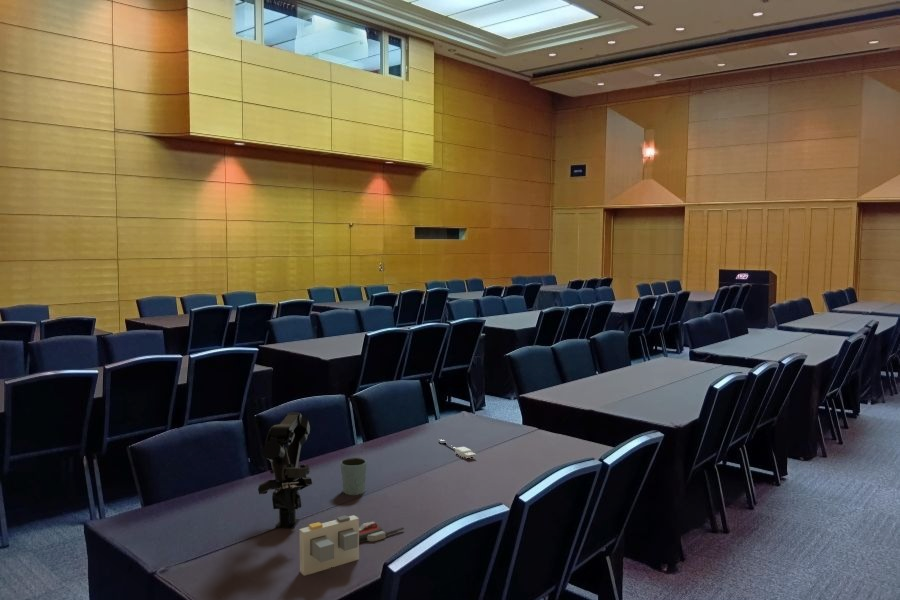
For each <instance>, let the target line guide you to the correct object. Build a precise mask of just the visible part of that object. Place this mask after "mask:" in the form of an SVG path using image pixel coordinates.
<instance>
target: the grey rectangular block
mask: <svg viewBox="0 0 900 600" xmlns="http://www.w3.org/2000/svg"><path fill="white" fill-rule="evenodd" d="M310 554H311V555H312V556H313V557H315V558H316V559H317V560H318V561H319V562H324V561H327V560H331V559H334V543H333V542H331V541H330V540H329V539H328V538H326V537H325V536H321V537H317V538H313V539H310Z"/></svg>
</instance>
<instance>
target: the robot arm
mask: <svg viewBox="0 0 900 600" xmlns="http://www.w3.org/2000/svg"><path fill="white" fill-rule="evenodd" d="M285 414H286V415H285V417H284V419H283V420H282V421H281V422H280V423H279V424H274V425H272V426H271V427H270V429H269V430H268V432H267V435H266V438H265V440H264V445H263V447H262V448H261V449H262V455H263V456H264V457H265V459H267V460H269V461H270V463H271V465H270V466H271V468H272V469H271V470H270V472H269V473H270V474H273V477H274V479H268V480H266V481H264V482H263V483H260V484H259V485H258V488H257V491H258V495H266V494H268V492H269V491H271V490H274V491H273V492H272V497H271V498H272V506H273V507H272V508H273V510H278V522H277V523H276V524H275V528H279V529H280V528H282V529H294V528H295V527H296V525H298V523H299V521H300V519H299V518H297V510H299V509H300V508H302V497H301V495H300V492H299V491H302V490H303V489H306V488H308V487H310V486H312V485H313V482H312V478H311V477H310V476H308V475H309V474H310V467H309V465H308V464H301V465H300V467H298V466H299V461H300V454H301V450H302V446H303V445H304V444H305V443H306V442H307V440H308V436H309V435H310V433H311V432H310V431H311V426H310V422H309V420H308V419H307V418H305V417H304V416H302V413H300V412H288V413H285ZM286 446H287V447H286Z"/></svg>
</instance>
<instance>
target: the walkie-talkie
mask: <svg viewBox="0 0 900 600" xmlns="http://www.w3.org/2000/svg"><path fill="white" fill-rule="evenodd" d="M403 530H405V527H403V526H402V527H399V528H395V529H392V530H389V531H388V530H387V531H383V527H381V526H380V525H379V524H377V523H376V522H375V521H372V520H371V521H368V522H365V523H362V524H361V525H359V544H361V543H363V542H367V541H368V542H376V541H380V540H384V539H386V537H387V536H390V535H392V534H395V533H398V532H399V531H403Z"/></svg>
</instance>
